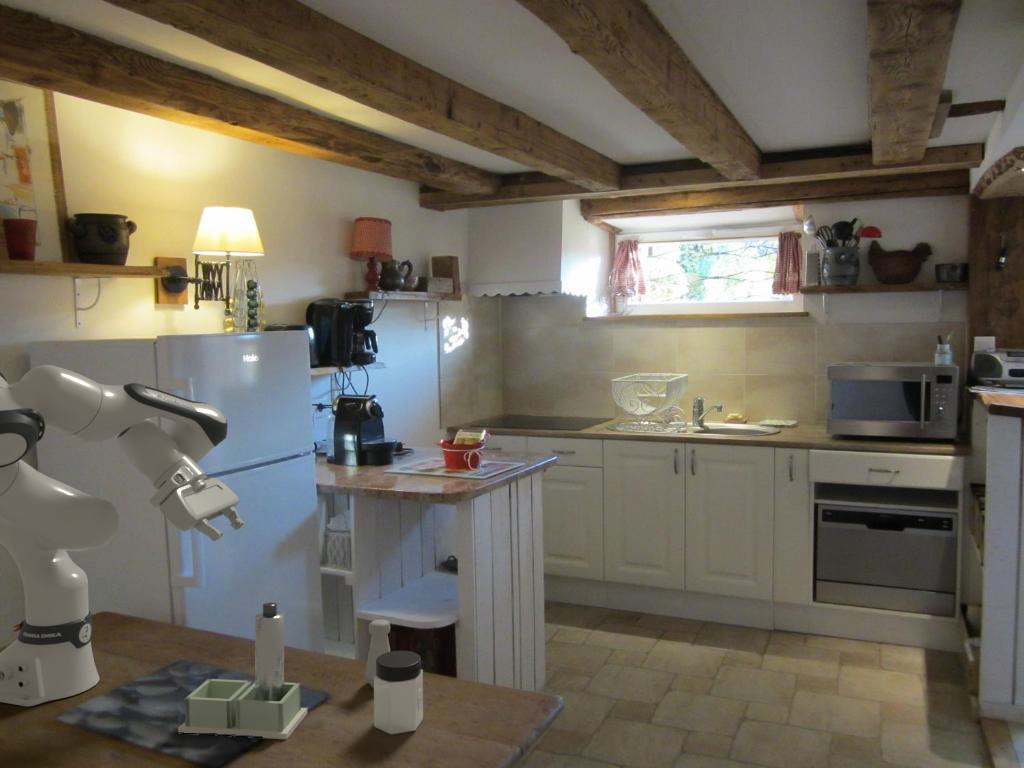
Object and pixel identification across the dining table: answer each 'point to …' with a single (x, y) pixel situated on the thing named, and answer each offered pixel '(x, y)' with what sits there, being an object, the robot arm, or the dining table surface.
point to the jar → (398, 692)
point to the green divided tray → (241, 710)
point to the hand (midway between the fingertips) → (230, 532)
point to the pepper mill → (269, 654)
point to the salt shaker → (377, 646)
